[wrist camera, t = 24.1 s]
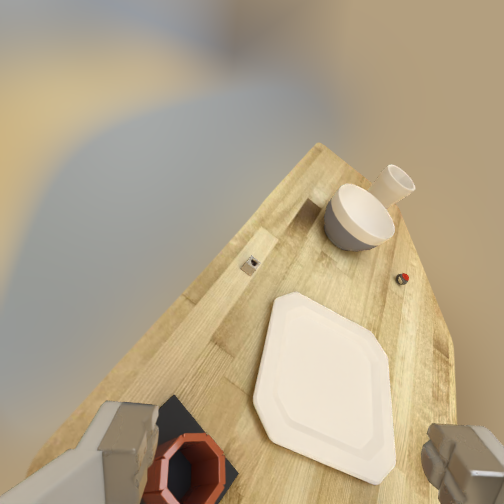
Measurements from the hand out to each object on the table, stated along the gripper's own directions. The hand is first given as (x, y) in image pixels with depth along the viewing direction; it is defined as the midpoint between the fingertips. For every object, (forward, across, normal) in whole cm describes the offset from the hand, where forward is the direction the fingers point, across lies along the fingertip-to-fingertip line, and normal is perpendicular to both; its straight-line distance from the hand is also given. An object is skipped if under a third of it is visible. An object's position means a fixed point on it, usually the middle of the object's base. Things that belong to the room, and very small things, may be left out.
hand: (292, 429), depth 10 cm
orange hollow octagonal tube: (+18, +8, +26) cm, 33 cm away
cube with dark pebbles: (+47, +1, +12) cm, 49 cm away
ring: (+66, -36, +20) cm, 77 cm away
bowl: (+68, -21, +10) cm, 72 cm away
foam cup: (+84, -32, +5) cm, 90 cm away
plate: (+36, -13, +27) cm, 47 cm away
